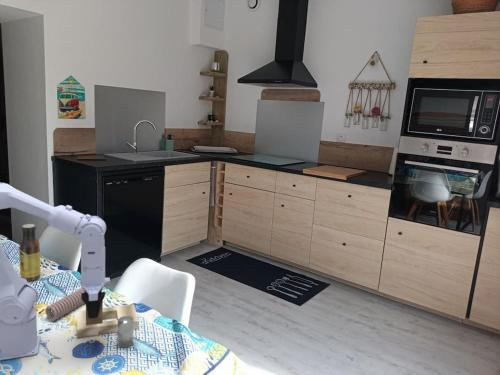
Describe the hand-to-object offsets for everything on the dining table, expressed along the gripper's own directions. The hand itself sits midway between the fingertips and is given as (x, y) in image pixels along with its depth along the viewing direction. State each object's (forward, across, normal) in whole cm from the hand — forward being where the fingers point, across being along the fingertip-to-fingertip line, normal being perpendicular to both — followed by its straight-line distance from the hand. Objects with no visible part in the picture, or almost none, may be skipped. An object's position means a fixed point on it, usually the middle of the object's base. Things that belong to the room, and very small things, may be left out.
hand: (93, 312), depth 100 cm
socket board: (+9, +9, -4) cm, 13 cm away
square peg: (+2, 0, 0) cm, 2 cm away
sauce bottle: (+9, +45, +21) cm, 51 cm away
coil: (+9, +21, +6) cm, 24 cm away
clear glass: (+9, -2, -8) cm, 12 cm away
